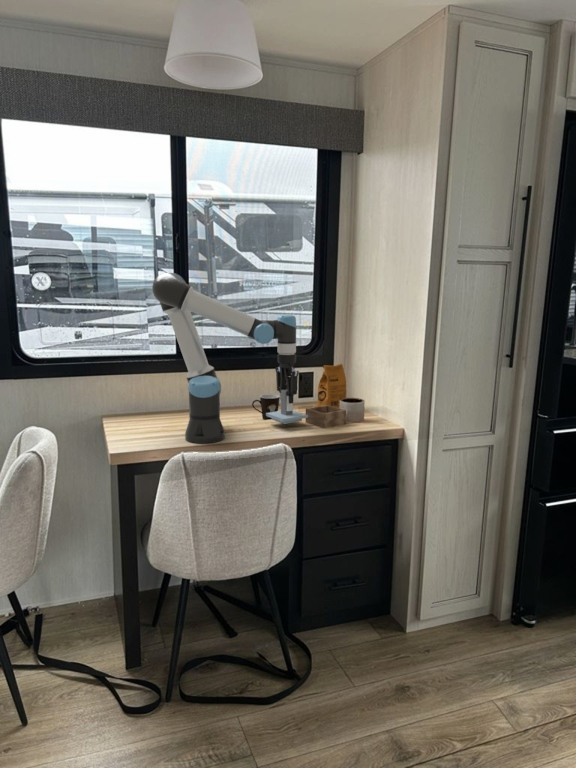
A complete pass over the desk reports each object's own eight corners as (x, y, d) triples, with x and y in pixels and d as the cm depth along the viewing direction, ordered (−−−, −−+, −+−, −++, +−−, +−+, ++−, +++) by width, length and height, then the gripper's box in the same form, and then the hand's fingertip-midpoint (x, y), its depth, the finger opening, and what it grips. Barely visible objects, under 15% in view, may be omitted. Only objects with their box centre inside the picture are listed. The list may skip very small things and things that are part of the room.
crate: (323, 430, 238) (323, 414, 237) (305, 424, 248) (305, 408, 247) (345, 426, 245) (345, 410, 244) (327, 420, 255) (327, 404, 253)
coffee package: (314, 410, 274) (315, 364, 270) (336, 407, 280) (337, 362, 276) (326, 414, 265) (327, 367, 261) (348, 411, 271) (349, 365, 267)
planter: (346, 425, 246) (346, 403, 245) (334, 419, 256) (335, 398, 255) (368, 423, 250) (369, 401, 249) (356, 417, 260) (357, 396, 259)
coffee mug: (280, 416, 261) (280, 394, 259) (278, 421, 253) (278, 398, 251) (254, 415, 262) (254, 393, 261) (251, 420, 254) (251, 397, 252)
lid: (283, 425, 233) (283, 394, 231) (265, 419, 243) (265, 389, 241) (307, 421, 240) (308, 391, 238) (290, 415, 250) (290, 386, 248)
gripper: (306, 355, 232) (306, 412, 236) (282, 350, 245) (282, 404, 249) (291, 356, 228) (291, 414, 232) (267, 351, 241) (268, 407, 245)
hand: (286, 409), depth 241 cm, fingers closed on lid, 3 cm apart
